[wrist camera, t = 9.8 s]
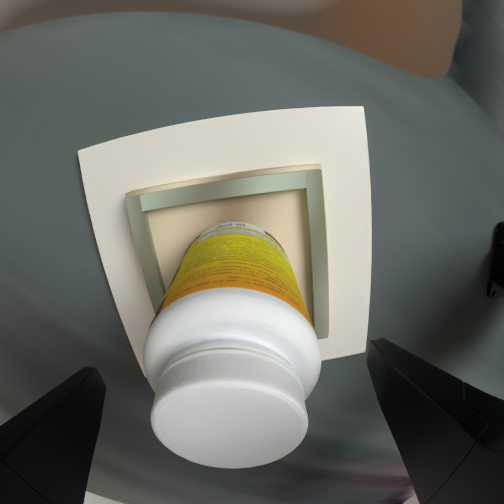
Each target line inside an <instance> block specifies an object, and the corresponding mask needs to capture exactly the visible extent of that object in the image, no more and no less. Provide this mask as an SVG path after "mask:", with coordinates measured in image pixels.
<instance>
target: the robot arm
mask: <svg viewBox="0 0 504 504" xmlns="http://www.w3.org/2000/svg"><path fill="white" fill-rule="evenodd" d="M502 295H504V222H501V223H500V224H499V226H498V231H497V240H496V247H495V254H494V260H493V266H492V272H491V277H490V282H489V287H488V292H487V296H488V297H489V298H491V299H493V298H496V297H499V296H502ZM367 366H368V369H369V372H370V376H371V379H372V382H373V385H374V389H375V392H376V395H377V399H378V402H379V405H380V407H381V410H382V412H383V414H384V416H385V419H386V421H387V423H388V426H389V428H390V430H391V433H392V435H393V438H394V440H395V442H396V445H397V447H398V450H399V452H400V454H401V457H402V459H403V462H404V464H405V467H406V469H407V472H408V474H409V477H410V479H411V482H412V485H413V487H414V490H415V493H416V495H417V498H418V501H419V503H420V504H504V400H502V399H499V398H497V397H495V396H492V395H490V394H488V393H485V392H483V391H481V390H479V389H477V388H475V387H473V386H471V385H469V384H468V383H466V382H463V381H462V380H460V379H458V378H456V377H454V376H452V375H451V374H449V373H447V372H445V371H443V370H441V369H439V368H438V367H436V366H434V365H432V364H430V363H428V362H426V361H425V360H423V359H421V358H419V357H417V356H415V355H414V354H412V353H410V352H408V351H406V350H404V349H403V348H401V347H399V346H397V345H395V344H393V343H392V342H390V341H388V340H386V339H384V338H382V337H381V338H376V339H372V340H370V341H369V345H368V354H367ZM105 393H106V386H105V383H104V381H103V379H102V377H101V376H100V374H99V372H98V370H97V369H96V368H95V367H84V368H82V369H81V370H79V371H78V372H77V373H75V374H74V375H72V376H71V377H69V378H68V379H67V380H65V381H64V382H62V383H61V384H60V385H58V386H57V387H55V388H54V389H52V390H51V391H50V392H48V393H47V394H45V395H44V396H43V397H41V398H40V399H38V400H37V401H35V402H34V403H33V404H31V405H30V406H28V407H27V408H26V409H24V410H23V411H21V412H20V413H18V414H17V416H14V417H13V418H11V419H10V420H8V421H7V422H6V423H4V424H3V425H1V426H0V504H83V503H84V498H85V492H86V487H87V482H88V477H89V472H90V467H91V463H92V458H93V454H94V449H95V445H96V441H97V437H98V433H99V429H100V424H101V418H102V411H103V405H104V399H105Z"/></svg>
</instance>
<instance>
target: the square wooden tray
mask: <svg viewBox="0 0 504 504" xmlns="http://www.w3.org/2000/svg"><path fill="white" fill-rule="evenodd" d="M125 195H126V198H125V201H126V205H127V210H128V215H129V219H130V224H131V228H132V232H133V237H134V241H135V245H136V249H137V253H138V257H139V261H140V264H141V268H142V272H143V275H144V279H145V283H146V286H147V290H148V293H149V296H150V300H151V303H152V306H153V309H154V313H155V315H156V312H157V310H158V308H159V306H160V304H161V302H162V300H163V298H164V295H165V293H166V291H167V289H168V287H169V285H170V283H171V281H172V278H173V276H174V274H175V272H176V270H177V268H178V266H179V264H180V262H181V260H182V258H183V256H184V254H185V252H186V251H187V249H188V247H189V246H190V244H191V243H192V242H193V240H194V239H195V238H196V237H197V236H198V235H200V234H201V233H202V232H204V231H205V230H207V229H208V228H210V227H213V226H215V225H218V224H221V223H226V222H244V223H249V224H253V225H256V226H258V227H260V228H262V229H264V230H266V231H267V232H269V233H270V234H271V235H272V236H274V238H275V239H276V240H277V241H278V242H279V243H280V244H281V246H282V247H283V249H284V251H285V253H286V255H287V257H288V260H289V262H290V265H291V268H292V270H293V273H294V276H295V279H296V281H297V284H298V287H299V289H300V292H301V295H302V298H303V300H304V303H305V306H306V309H307V311H308V314H309V317H310V319H311V322H312V325H313V328H314V330H315V333H316V336H317V339H318V340H319V339H325V338H328V334H329V278H328V249H327V229H326V212H325V198H324V185H323V173H322V164H318V163H314V164H303V165H292V166H283V167H274V168H265V169H257V170H249V171H242V172H234V173H227V174H221V175H214V176H208V177H201V178H195V179H189V180H184V181H178V182H172V183H167V184H162V185H156V186H151V187H146V188H141V189H136V190H132V191H130V192H127V193H125Z"/></svg>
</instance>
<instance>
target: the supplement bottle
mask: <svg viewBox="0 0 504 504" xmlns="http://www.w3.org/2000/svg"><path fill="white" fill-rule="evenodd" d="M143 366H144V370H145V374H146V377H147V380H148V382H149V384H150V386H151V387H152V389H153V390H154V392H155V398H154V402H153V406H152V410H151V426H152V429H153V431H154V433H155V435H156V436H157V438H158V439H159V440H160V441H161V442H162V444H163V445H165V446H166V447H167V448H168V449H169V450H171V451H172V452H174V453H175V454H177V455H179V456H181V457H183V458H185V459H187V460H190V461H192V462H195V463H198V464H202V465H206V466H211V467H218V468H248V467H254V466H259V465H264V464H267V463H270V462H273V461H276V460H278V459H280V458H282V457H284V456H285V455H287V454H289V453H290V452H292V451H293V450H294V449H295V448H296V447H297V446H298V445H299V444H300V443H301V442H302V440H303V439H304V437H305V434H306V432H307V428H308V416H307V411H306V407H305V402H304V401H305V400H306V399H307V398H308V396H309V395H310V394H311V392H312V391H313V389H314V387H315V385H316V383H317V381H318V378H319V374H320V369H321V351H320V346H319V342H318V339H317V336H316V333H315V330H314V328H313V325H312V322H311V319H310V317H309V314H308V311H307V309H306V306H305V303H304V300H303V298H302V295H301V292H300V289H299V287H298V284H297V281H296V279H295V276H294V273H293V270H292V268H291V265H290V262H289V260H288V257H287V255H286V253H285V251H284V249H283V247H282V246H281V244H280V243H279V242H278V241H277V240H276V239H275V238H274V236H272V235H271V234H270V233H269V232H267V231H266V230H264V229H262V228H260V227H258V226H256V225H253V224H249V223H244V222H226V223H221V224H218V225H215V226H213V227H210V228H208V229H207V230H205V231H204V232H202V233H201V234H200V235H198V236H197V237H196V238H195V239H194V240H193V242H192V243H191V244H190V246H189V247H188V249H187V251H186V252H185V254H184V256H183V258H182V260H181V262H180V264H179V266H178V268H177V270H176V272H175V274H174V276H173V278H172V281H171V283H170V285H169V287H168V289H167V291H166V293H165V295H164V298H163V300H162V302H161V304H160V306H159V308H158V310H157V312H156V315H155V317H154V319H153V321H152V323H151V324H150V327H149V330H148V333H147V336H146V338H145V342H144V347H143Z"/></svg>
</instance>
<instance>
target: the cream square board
mask: <svg viewBox="0 0 504 504" xmlns="http://www.w3.org/2000/svg"><path fill="white" fill-rule="evenodd" d="M78 156H79V162H80V168H81V174H82V179H83V184H84V189H85V194H86V199H87V204H88V208H89V213H90V217H91V221H92V225H93V229H94V233H95V237H96V241H97V245H98V248H99V252H100V256H101V259H102V263H103V266H104V269H105V273H106V276H107V279H108V282H109V285H110V288H111V291H112V294H113V297H114V300H115V303H116V306H117V309H118V312H119V314H120V317H121V320H122V323H123V325H124V328H125V331H126V333H127V336H128V338H129V341H130V343H131V346H132V348H133V351H134V353H135V355H136V358H137V360H138V362H139V365H140V367H141V369H142V372H143V374H144V376H145V377H146V374H145V370H144V366H143V347H144V342H145V338H146V336H147V333H148V330H149V327H150V324H151V323H152V321H153V319H154V317H155V313H154V309H153V306H152V303H151V300H150V296H149V293H148V290H147V286H146V283H145V279H144V275H143V272H142V268H141V264H140V261H139V257H138V253H137V249H136V245H135V241H134V237H133V232H132V228H131V224H130V219H129V215H128V210H127V205H126V201H125V198H126V195H125V193H127V192H130V191H132V190H136V189H141V188H146V187H151V186H156V185H162V184H167V183H172V182H178V181H184V180H189V179H195V178H201V177H208V176H214V175H221V174H227V173H234V172H242V171H249V170H257V169H265V168H274V167H283V166H292V165H303V164H314V163H318V164H322V173H323V185H324V198H325V212H326V229H327V249H328V278H329V334H328V338H325V339H319V340H318V342H319V346H320V351H321V361H322V360H328V359H333V358H338V357H343V356H348V355H353V354H358V353H362V352H365V349H366V340H367V329H368V317H369V302H370V284H371V248H372V225H371V189H370V171H369V157H368V145H367V134H366V125H365V116H364V108H363V106H344V107H313V108H296V109H283V110H272V111H262V112H253V113H245V114H237V115H230V116H223V117H217V118H210V119H204V120H199V121H193V122H188V123H183V124H178V125H173V126H168V127H163V128H159V129H154V130H150V131H146V132H142V133H138V134H134V135H130V136H126V137H122V138H119V139H115V140H111V141H108V142H105V143H101V144H98V145H95V146H91V147H88V148H85V149H82V150H79V151H78Z"/></svg>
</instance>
